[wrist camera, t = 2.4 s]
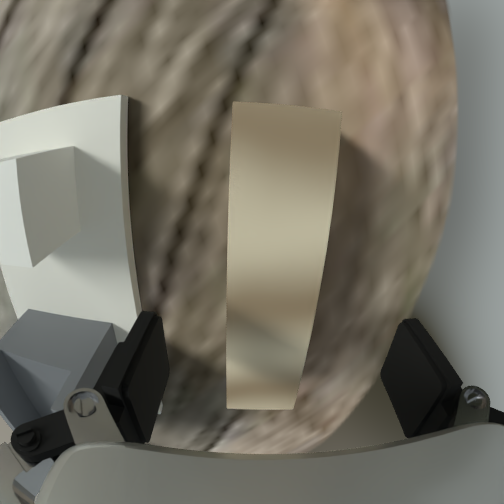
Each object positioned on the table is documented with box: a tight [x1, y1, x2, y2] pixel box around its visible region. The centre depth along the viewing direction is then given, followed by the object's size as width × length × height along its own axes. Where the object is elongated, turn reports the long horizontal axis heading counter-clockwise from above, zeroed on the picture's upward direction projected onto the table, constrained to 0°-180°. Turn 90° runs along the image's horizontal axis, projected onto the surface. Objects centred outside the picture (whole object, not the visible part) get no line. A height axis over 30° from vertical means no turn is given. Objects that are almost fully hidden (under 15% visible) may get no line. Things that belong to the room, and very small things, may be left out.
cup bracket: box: [0, 95, 163, 431], centre depth 14 cm, size 24×12×9 cm, turn 177°
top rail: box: [226, 102, 342, 410], centre depth 15 cm, size 16×4×5 cm, turn 177°
